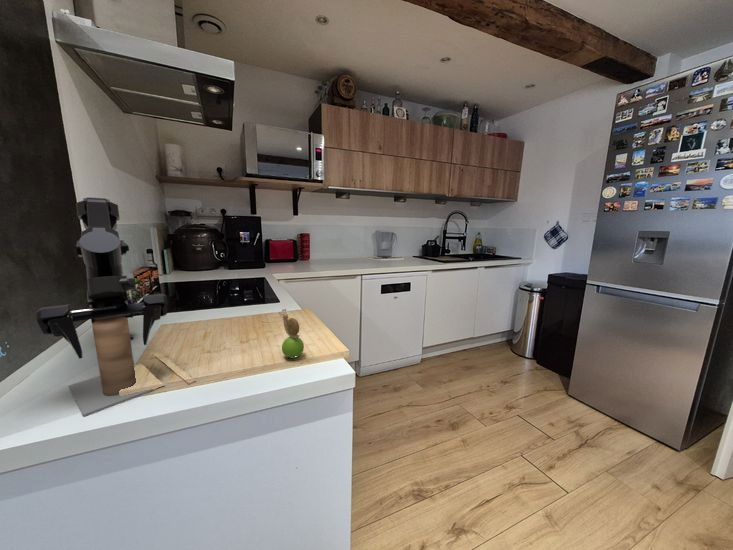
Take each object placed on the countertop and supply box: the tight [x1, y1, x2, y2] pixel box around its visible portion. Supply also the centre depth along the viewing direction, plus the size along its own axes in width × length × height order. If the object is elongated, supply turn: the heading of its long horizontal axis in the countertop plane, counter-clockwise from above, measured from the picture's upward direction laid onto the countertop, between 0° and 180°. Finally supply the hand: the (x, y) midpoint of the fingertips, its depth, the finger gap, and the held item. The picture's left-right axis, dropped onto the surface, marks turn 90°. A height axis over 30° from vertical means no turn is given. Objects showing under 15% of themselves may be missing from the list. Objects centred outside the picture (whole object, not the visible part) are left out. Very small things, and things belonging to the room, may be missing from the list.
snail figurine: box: [281, 308, 305, 358], centre depth 71 cm, size 5×6×12 cm
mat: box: [68, 364, 155, 418], centre depth 57 cm, size 14×12×1 cm
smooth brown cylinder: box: [91, 317, 136, 396], centre depth 55 cm, size 5×5×14 cm
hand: (114, 350), depth 54 cm, fingers open, 9 cm apart
